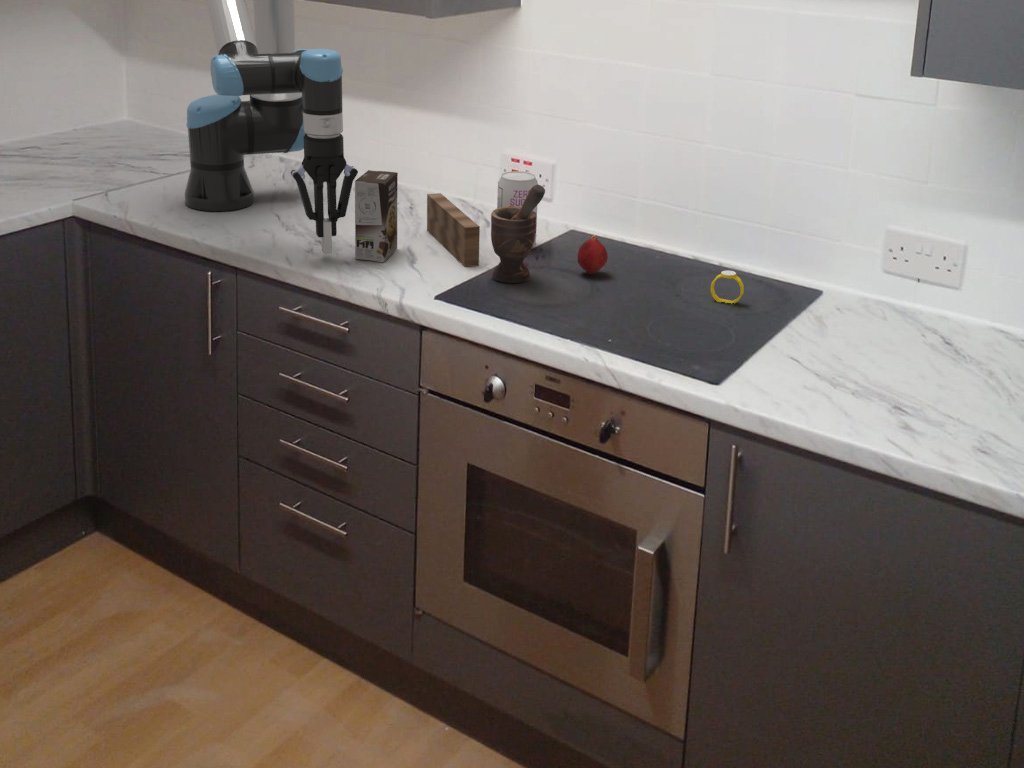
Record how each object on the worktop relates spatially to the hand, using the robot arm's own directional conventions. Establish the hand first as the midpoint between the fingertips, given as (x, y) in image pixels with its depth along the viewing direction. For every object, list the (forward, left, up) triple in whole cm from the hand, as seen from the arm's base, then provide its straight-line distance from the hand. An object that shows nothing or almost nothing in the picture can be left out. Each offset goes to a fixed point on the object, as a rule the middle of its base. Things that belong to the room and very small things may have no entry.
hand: (326, 251), depth 242 cm
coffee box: (0, +10, -2) cm, 10 cm away
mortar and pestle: (+22, +32, -2) cm, 39 cm away
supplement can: (+3, +39, -2) cm, 39 cm away
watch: (+44, +65, -2) cm, 79 cm away
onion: (+23, +47, -2) cm, 53 cm away
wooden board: (0, +26, -1) cm, 26 cm away
